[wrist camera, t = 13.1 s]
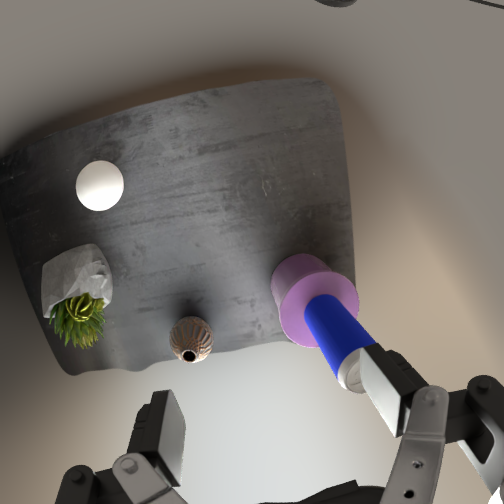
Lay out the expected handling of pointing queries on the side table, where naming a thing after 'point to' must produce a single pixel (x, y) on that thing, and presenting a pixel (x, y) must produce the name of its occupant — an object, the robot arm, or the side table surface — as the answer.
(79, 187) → the light bulb
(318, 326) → the beverage can
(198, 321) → the vase
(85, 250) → the potted plant
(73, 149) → the side table surface
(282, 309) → the jar
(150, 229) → the side table surface
